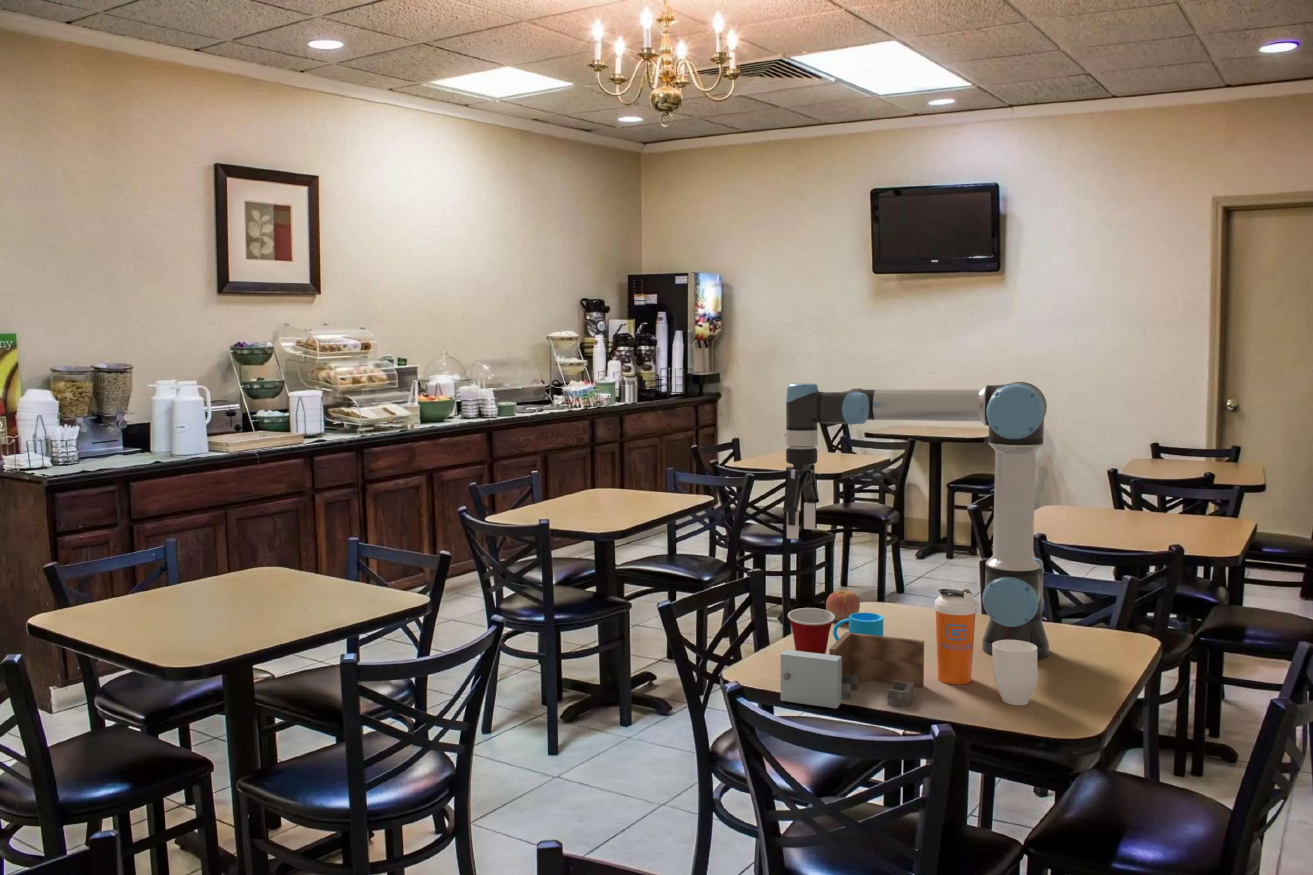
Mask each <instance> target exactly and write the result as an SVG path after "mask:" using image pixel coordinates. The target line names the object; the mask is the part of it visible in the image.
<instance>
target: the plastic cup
mask: <svg viewBox="0 0 1313 875" xmlns="http://www.w3.org/2000/svg"><path fill="white" fill-rule="evenodd" d="M787 618H788V619H789V621H790V626H791V629H792V635H793V642H794V649H795V651H803V652H811V653H819V654H826V652H827V649H828V642H829V637H830V631H831V628H832V624H833V622H834V621H835V620H834V619H835V615H834V614H833V613H832V612H829V611H827V610H826V609H822V608H818V607H817V608H816V607H803V608H795V609H792V610H791V611H789V612H788V613H787Z"/></svg>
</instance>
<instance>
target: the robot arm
mask: <svg viewBox="0 0 1313 875" xmlns="http://www.w3.org/2000/svg"><path fill="white" fill-rule="evenodd" d="M786 388H787V389H786V400H785V405H786V406H785V408H786V409H785V411H786V412H785V413H786V414H785V415H786V416H785V417H786V420H785V422H786V428H785V429H786V432H784V437H785V438H786V440H785V441H786V442H785V443H786V446H787V447H786V449H785V462H786V463H787V464H789V465H793V467H792V469H788V471H787V483H786V490H785V497H784V501H783V507H782V512H786V539H789V540H799V539H800V538H799V534H800V532H799V527H800V526H799V525H800V524H799V523H800V520H799V519H800V518H799V515H800V514H799V513H800V512H799V511H798V509H799V504H800V501H801V500H800V499H801V496H802V494H803V496H804V497H803V498H804V500H805V501H804V503H803V530H816V503H817V504H818V503H819V502H820V498H819V492H818V485H817V479H816V473H815V464H817V462H818V448H817V446H818V445H819V443H818V442H819V440H818V438H819V437H818V431H819V430H818V424H837V425H838V424H839V425H841V424H842V425H851V426H853V425H863V424H865V423H866V422H867V421H870V420H871V421H874V420H875V421H878V420H879V421H929V422H931V421H933V422H980V423H982V424H983V425H984V426H986V427H987V426H988V442H987V443H988V445H989V446H990V447H991V448H992V449H993V450H994V453H995V455H994V493H993V496H994V498H993V501H994V502H993V505H994V506H993V530H992V531H993V538H992V542H993V543H992V556H991V557H989V559H987V560H986V561H985V575H984V576H985V578H984V580H985V581H984V589H983V593H982V596H981V597H982V598H981V599H982V604H983V605H982V606H983V609H984V611H985V613H986V615H987V616H988V617H989V620H988V624H987V627H986V630H985V631H984V634H983V635H984V636H983V637H982V646H981V647H982V648H981V649H982V650H983V651H984V652H985V653H986V654H989V655H991V656H992V643H993V642H995V641H999V640H1019V641H1025V642H1029V643H1032V644H1034V645H1036V646H1037V660H1041V659H1044V658H1046V657H1048V656H1049V654H1050V642H1049V640H1048V637H1047V634H1046V631H1045V627H1044V624H1043V599H1044V598H1043V595H1044V588H1043V587H1044V573H1045V569H1044V563H1043V560H1042V559H1040V558H1038V557H1035V556H1034V535H1035V534H1034V532H1035V531H1034V530H1035V529H1034V528H1035V498H1036V496H1035V493H1036V491H1035V490H1036V459H1037V458H1036V457H1037V456H1036V455H1037V454H1036V453H1037V451H1038V450H1039V449H1041V447H1043V446H1044V434H1045V433H1044V430H1045V417H1046V414H1047V408H1048V405H1047V400H1046V398H1045V394H1044V393H1043V392H1042V391H1041V390H1040V389H1039V388H1038V387H1037V386H1036V385H1034V384H1032V383H1030V382H1029V383H1028V382H1025V381H1014V382H1011V383H1005V384H999V385H998V384H996V385H995V384H994V385H993V384H992V385H985V386H984V387H983V388H982V389H863V388H852V389H849V390H846V391H833V392H832V391H831V392H825V391H819V388H818V384H816V383H814V382H813V383H809V382H808V383H807V382H806V383H805V382H804V383H802V382H800V383H799V382H797V383H790V384H789V385H788V386H787V387H786Z"/></svg>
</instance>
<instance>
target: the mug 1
mask: <svg viewBox="0 0 1313 875" xmlns="http://www.w3.org/2000/svg"><path fill="white" fill-rule="evenodd" d="M845 623H848V632H849V633H858V634H867V635H877V636H884V616H882V615H881V614H878V613H875V612H873V613H872V612H859V613H854V614H851V615H850V616H849V619H844V620H841V621H837V623H836V624H835V625H834V627H833V630H832V635H833V639H834V640H835V641H836V642H837V641H838V640H839V639H840V637H839V636H838V630H839V627H840V626H841V625H843V624H845Z"/></svg>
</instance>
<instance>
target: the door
mask: <svg viewBox="0 0 1313 875" xmlns="http://www.w3.org/2000/svg"><path fill="white" fill-rule="evenodd" d="M841 678H842V656H836V655H829V654H828V653H825V654H819V653H811V652H803V651H796V650H794V649H793V650H792V649H785V650H784V651H782V652H781V653H780V701H782V702H789V703H794V704H795V703H796V704H803V705H810V706H816V707H817V706H818V707H825V708H831V709H838V708H839V707H840V705H841V704H842V698H841Z"/></svg>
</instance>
